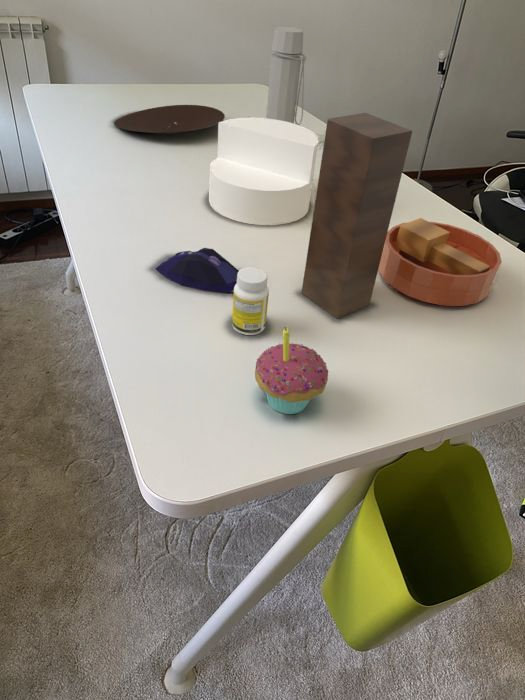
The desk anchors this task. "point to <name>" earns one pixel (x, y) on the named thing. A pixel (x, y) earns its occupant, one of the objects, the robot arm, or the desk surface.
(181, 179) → the desk surface
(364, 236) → the stand
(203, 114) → the plate
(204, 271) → the computer mouse
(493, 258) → the bowl
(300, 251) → the desk surface
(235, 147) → the white stepped cylinder
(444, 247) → the wooden t-shaped block
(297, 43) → the water bottle
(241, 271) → the supplement bottle
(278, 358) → the cupcake
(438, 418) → the desk surface
